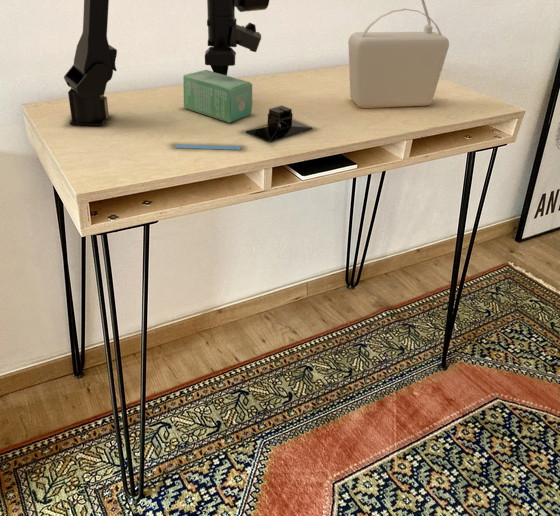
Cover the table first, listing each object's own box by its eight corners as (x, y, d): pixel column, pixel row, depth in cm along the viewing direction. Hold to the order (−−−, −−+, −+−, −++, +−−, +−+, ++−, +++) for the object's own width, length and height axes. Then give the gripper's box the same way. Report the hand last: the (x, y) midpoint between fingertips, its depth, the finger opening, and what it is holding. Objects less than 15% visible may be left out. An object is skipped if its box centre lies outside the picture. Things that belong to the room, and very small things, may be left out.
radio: (424, 95, 152) (443, -16, 139) (440, 106, 145) (461, -10, 132) (339, 98, 147) (350, -17, 134) (351, 109, 140) (363, -10, 127)
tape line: (175, 148, 117) (175, 147, 117) (176, 145, 118) (176, 144, 118) (240, 149, 117) (240, 149, 117) (240, 146, 119) (240, 146, 119)
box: (230, 124, 129) (230, 88, 125) (183, 109, 136) (181, 74, 132) (252, 115, 134) (253, 80, 130) (206, 102, 141) (205, 68, 137)
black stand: (269, 143, 121) (269, 120, 119) (244, 133, 125) (244, 110, 123) (312, 129, 129) (314, 107, 126) (287, 119, 133) (288, 98, 130)
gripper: (259, 24, 124) (258, 101, 133) (259, 6, 140) (258, 75, 148) (203, 23, 124) (205, 100, 132) (209, 4, 139) (211, 74, 148)
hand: (222, 87), depth 140 cm, fingers closed
